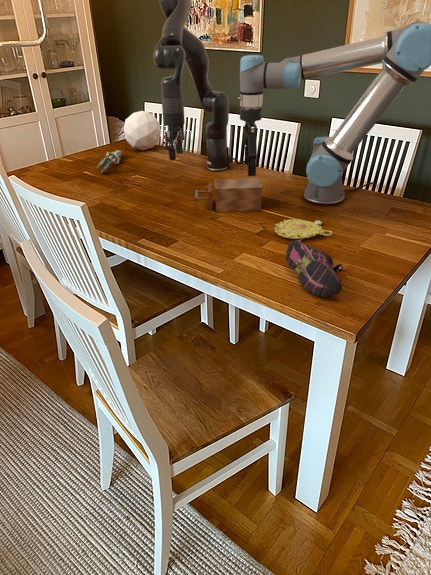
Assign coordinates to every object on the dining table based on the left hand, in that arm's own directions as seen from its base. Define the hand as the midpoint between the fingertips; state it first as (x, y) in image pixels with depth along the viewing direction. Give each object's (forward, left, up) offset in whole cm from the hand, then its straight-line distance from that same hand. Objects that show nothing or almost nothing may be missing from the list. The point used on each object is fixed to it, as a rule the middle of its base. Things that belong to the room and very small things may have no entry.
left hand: (176, 156), depth 163 cm
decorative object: (-20, +48, -18) cm, 55 cm away
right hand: (-20, +19, -4) cm, 28 cm away
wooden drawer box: (-16, +17, -18) cm, 29 cm away
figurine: (+5, -61, -18) cm, 64 cm away
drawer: (-11, +14, -16) cm, 24 cm away
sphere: (-20, -79, -18) cm, 83 cm away
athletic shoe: (-4, +73, -18) cm, 76 cm away
